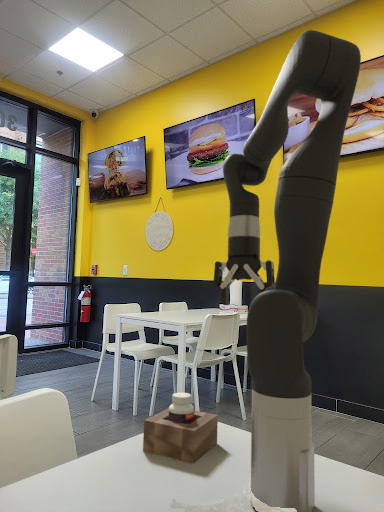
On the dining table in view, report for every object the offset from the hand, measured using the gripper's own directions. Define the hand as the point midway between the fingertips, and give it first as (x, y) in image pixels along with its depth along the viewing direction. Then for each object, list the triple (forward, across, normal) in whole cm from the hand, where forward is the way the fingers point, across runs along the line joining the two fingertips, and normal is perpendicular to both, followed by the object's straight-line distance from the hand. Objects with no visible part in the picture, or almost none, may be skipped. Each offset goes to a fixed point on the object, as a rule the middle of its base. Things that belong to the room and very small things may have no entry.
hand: (243, 305), depth 86 cm
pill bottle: (+29, +10, +10) cm, 33 cm away
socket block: (+30, +10, +10) cm, 33 cm away
